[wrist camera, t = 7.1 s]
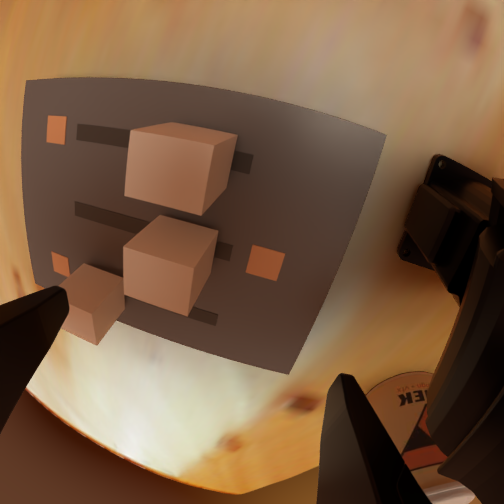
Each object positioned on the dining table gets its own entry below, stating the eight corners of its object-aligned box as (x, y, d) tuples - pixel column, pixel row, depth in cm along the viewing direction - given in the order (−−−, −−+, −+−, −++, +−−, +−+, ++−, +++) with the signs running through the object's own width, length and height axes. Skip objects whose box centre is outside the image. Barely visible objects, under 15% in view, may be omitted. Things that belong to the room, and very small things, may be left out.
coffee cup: (467, 369, 20) (502, 484, 9) (413, 426, 24) (425, 525, 14) (384, 357, 20) (404, 505, 10) (336, 419, 25) (332, 533, 14)
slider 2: (237, 135, 12) (214, 145, 9) (226, 188, 13) (201, 216, 10) (171, 122, 12) (130, 130, 9) (164, 173, 13) (124, 195, 10)
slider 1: (123, 277, 16) (91, 314, 13) (124, 308, 18) (96, 345, 14) (83, 263, 16) (49, 294, 13) (86, 293, 18) (56, 325, 15)
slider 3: (218, 230, 14) (194, 268, 11) (210, 273, 15) (187, 316, 12) (159, 214, 14) (123, 246, 11) (156, 256, 15) (123, 294, 12)
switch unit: (371, 129, 14) (387, 135, 11) (291, 343, 21) (288, 375, 18) (57, 78, 15) (25, 80, 12) (57, 264, 22) (34, 283, 19)
